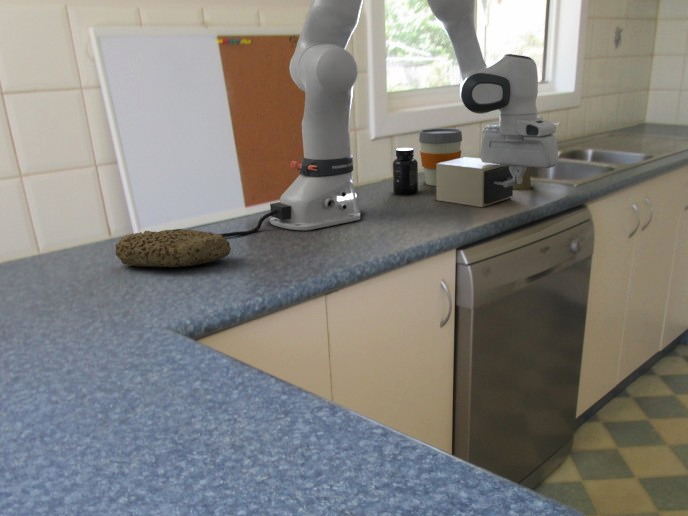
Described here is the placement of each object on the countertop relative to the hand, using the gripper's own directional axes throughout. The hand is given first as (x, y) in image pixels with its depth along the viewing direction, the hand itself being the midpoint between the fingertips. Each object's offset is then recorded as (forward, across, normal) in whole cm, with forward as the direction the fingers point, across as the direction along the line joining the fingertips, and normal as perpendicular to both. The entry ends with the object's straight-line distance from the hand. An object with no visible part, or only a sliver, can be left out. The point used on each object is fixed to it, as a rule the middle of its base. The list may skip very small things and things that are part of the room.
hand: (517, 183), depth 164 cm
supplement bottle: (+5, -34, -4) cm, 34 cm away
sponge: (+5, -25, -79) cm, 83 cm away
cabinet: (+5, -14, 0) cm, 15 cm away
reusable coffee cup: (+5, -35, +13) cm, 37 cm away
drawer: (+5, -10, 0) cm, 11 cm away
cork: (+6, -12, +20) cm, 24 cm away
